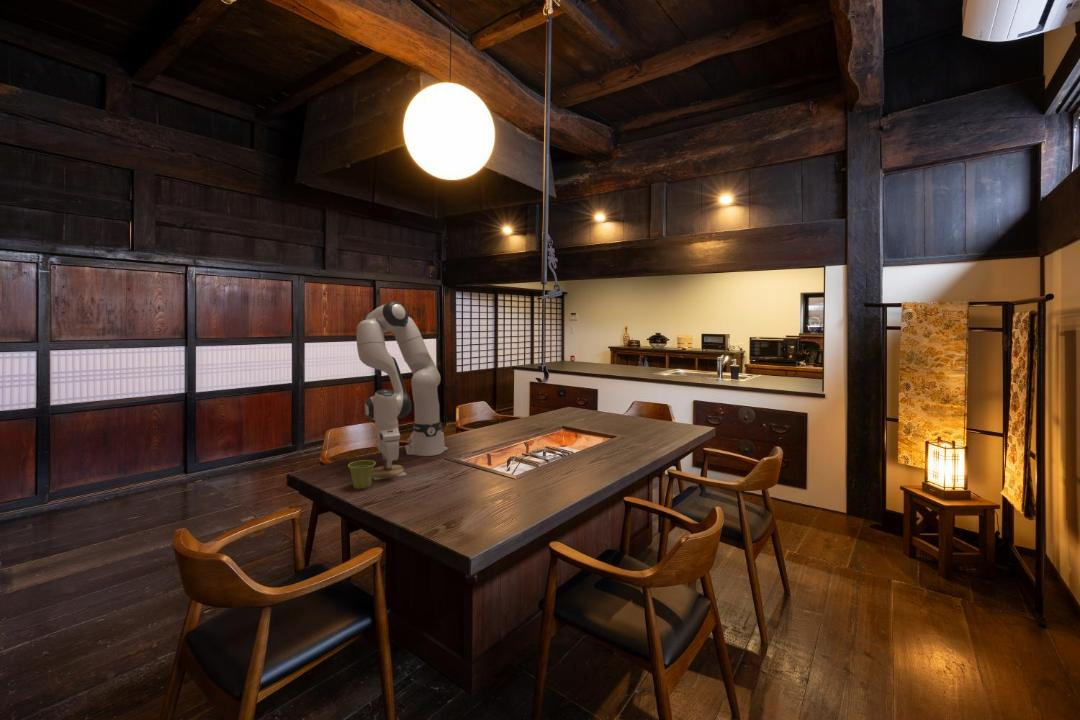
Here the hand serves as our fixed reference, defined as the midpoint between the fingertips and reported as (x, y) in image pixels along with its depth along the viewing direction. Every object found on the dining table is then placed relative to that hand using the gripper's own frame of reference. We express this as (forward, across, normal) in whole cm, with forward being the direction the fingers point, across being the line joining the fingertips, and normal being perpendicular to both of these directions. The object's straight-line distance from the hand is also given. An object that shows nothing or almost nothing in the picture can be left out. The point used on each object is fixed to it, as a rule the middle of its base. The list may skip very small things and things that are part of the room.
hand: (387, 466), depth 183 cm
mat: (+3, 0, 0) cm, 3 cm away
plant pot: (+4, +10, -11) cm, 15 cm away
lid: (+2, 0, 0) cm, 2 cm away
